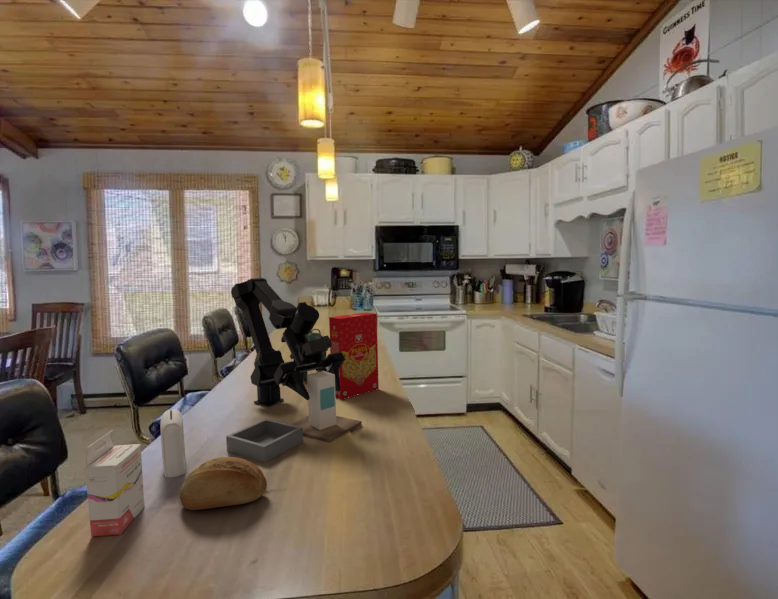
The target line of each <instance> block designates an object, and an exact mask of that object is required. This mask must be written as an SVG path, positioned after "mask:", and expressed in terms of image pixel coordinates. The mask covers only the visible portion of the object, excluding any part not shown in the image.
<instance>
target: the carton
mask: <svg viewBox="0 0 778 599" xmlns="http://www.w3.org/2000/svg"><path fill="white" fill-rule="evenodd" d="M306 382H307V384H306V385H307V387H306V389H307V391H308V394H309V397H310V399H309V400H307V403H308V404H307V409H308V416H309V425H311V426H313V427H315V428H317V429H319V430H321V429H324V428H327V427H331V426H334V425H337V424H336V416H337V402H336V401H337V399H336V395H335V374H332V373H329V372H326V371H324V370H320V371H317V372H313V373H309V374H308V373H307V379H306Z"/></svg>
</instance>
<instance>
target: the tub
mask: <svg viewBox="0 0 778 599" xmlns="http://www.w3.org/2000/svg"><path fill="white" fill-rule="evenodd" d="M290 424H291V423H285V422H282V421H278V420H273V419H269V418H265V419H261V420H260V421H257V422H256V423H252V424H251V425H249V426H246V427H243V428H242V429H239V430H237V431H235V432H232V433H230V434H227V435H226V436H225V439H226V440H225V441H226V451H227V452H229V453H232V454H235V455H238V456H239V455H240V456H242V457H246V458H249V459H252V460H255V461H258V462H262V463H268V462H269V461H270V460H272V459H275V458H276V457H278V456H280V455H282V454H284V453H286V452H288V451H289V450H291V449H293V448H295V447H297V446H299V445H300V444H302V443H303V442H304V436H303V427H298V426H294V425H290Z"/></svg>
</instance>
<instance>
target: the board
mask: <svg viewBox="0 0 778 599" xmlns="http://www.w3.org/2000/svg"><path fill="white" fill-rule="evenodd" d="M289 424H290V425H294V426H298V427H303V437H307V438H311V439H315V440H319V441H323V442H327V443H331V442H333V441H335V440H337V439H338V438H340V437H341V436H344V435H345V434H347V433H348V432H350V433H352V432H354V431H356V430H357V429H359V428H361V427H362V426H363V424H362V420H357V419H352V418H349V417H343V416H339V415H336V424H337V425H334V426H331V427H327V428H324V429H321V430H319V429H317V428H315V427H313V426H311V425H309V415H307V416H305V417H303V418H301V419H299V420H297V421H294V422H292V423H289ZM358 427H359V428H358ZM353 430H354V431H353Z"/></svg>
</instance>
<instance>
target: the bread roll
mask: <svg viewBox="0 0 778 599" xmlns="http://www.w3.org/2000/svg"><path fill="white" fill-rule="evenodd" d="M267 482H268V481H267V479H266V477H265V475H264V473H263V471H262V469H261V468H259V467H258V466H257V465H256V464H255V463H254V462H251V461H249V460H247V459H244V458H242V457H238V456H236V457H235V456H222V457H216V458H212V459H209V460H207V461H204V462H203V463H201V464H200V465H198V466H197V467H195V469H193V470H192V471H191V472H190V473H189V474H188V476H187V477H186V478H185V479H184V481H183V484H182V486H181V488H180V492H179V501H180V504H181V505H182V507H183V508H184V509H186V510H190V511H199V510H200V511H201V510H208V509H214V508H221V507H229V506H237V505H244V504H247V503H251V502H254V501H256V500H258V499H260V498H261V497H262V496H263V495H265V493H266V491H267V488H268V483H267Z"/></svg>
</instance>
